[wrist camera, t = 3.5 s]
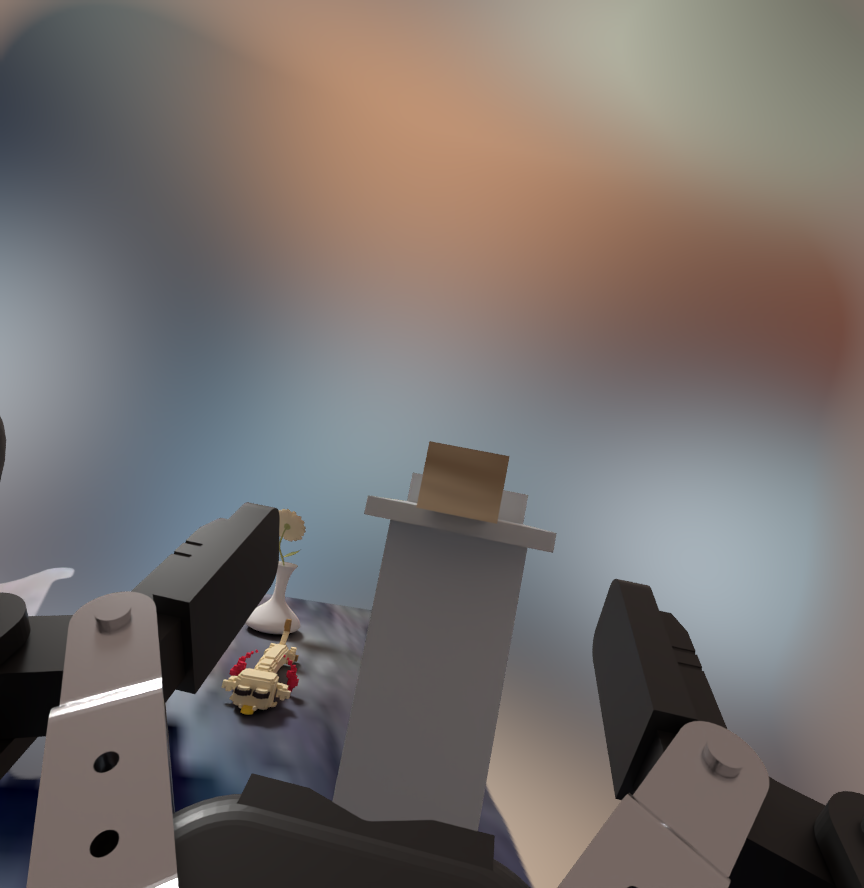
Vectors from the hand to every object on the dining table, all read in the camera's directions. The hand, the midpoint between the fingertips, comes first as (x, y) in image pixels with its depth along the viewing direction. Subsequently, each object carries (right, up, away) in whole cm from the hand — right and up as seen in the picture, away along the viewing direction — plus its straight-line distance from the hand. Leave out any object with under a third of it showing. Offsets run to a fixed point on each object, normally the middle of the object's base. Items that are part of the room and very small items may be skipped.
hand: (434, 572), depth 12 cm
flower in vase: (-34, -36, +97) cm, 109 cm away
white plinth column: (-4, -34, +28) cm, 44 cm away
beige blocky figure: (-26, -35, +68) cm, 81 cm away
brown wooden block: (+2, -2, +23) cm, 24 cm away
